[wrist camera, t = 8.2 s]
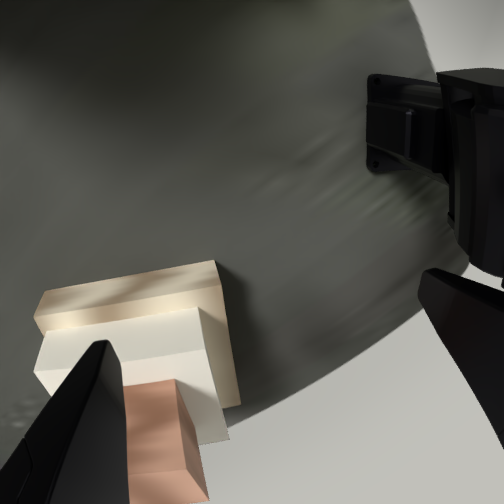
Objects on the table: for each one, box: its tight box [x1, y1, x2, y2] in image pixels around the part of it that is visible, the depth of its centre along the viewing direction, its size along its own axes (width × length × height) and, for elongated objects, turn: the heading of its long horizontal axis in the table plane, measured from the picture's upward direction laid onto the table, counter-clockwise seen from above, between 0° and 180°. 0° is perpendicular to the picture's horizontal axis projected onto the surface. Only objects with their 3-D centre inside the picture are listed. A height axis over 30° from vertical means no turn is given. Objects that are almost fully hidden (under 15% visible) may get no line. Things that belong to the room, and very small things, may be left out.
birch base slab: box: [34, 260, 241, 408], centre depth 22 cm, size 12×12×4 cm
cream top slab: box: [34, 307, 229, 445], centre depth 19 cm, size 10×10×4 cm
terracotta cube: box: [123, 379, 209, 504], centre depth 15 cm, size 6×6×6 cm
